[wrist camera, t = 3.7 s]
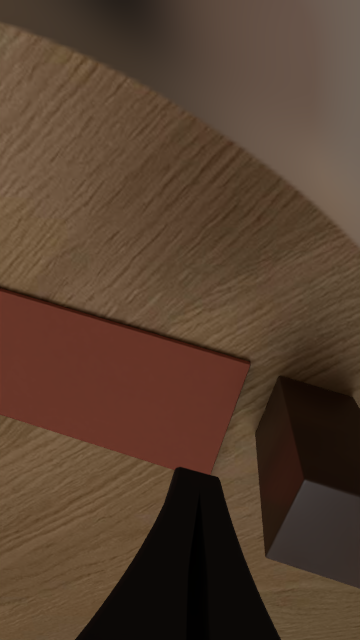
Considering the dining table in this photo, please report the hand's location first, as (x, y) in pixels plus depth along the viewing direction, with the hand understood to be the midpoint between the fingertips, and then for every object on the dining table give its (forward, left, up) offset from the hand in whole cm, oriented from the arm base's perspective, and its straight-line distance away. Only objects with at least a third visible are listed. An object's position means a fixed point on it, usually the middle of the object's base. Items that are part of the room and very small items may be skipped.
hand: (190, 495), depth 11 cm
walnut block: (-6, +2, -10) cm, 12 cm away
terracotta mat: (+21, +4, -10) cm, 24 cm away
